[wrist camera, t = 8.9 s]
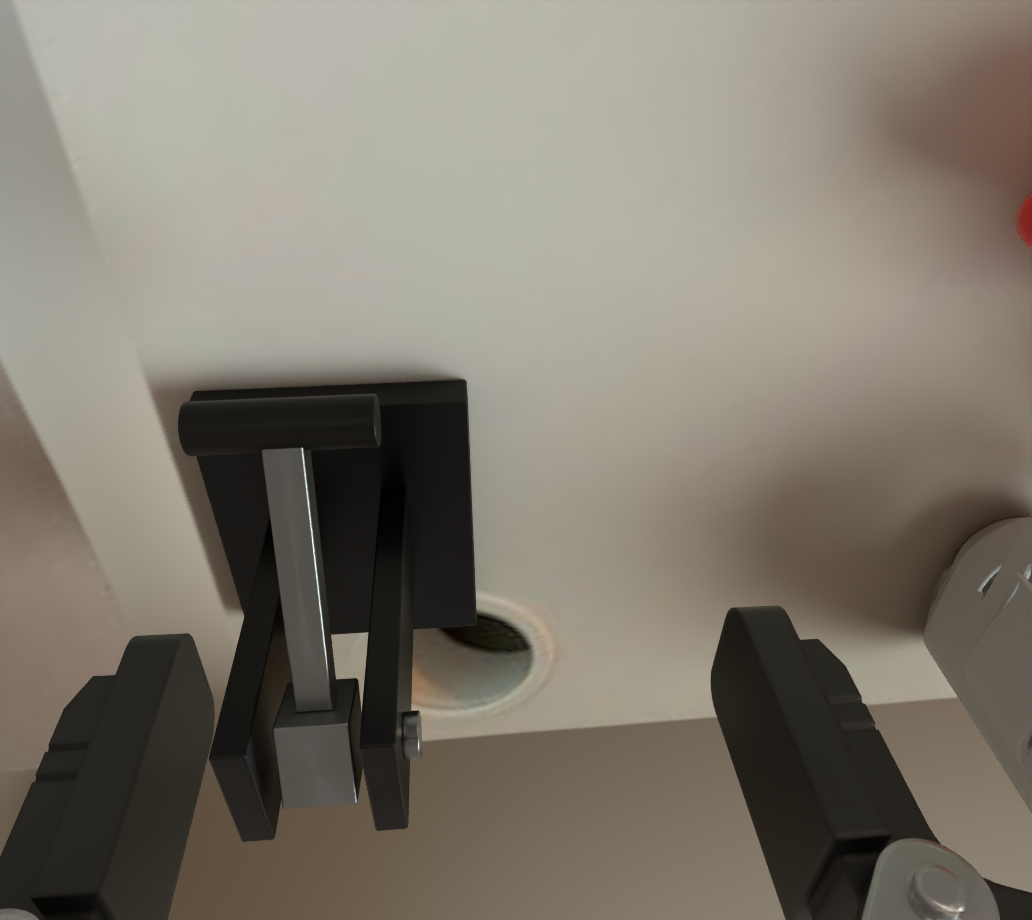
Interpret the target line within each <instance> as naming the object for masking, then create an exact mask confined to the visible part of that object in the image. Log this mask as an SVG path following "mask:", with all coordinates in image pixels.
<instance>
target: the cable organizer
mask: <svg viewBox="0 0 1032 920" xmlns="http://www.w3.org/2000/svg"><path fill="white" fill-rule="evenodd" d="M1030 568H1031V575H1030V577H1029V579H1028V580H1027V578H1026V575H1027V573H1028V572H1029V570H1030ZM997 572H998V573H997ZM996 573H997V575H996V577H995V579H994V580H993V582H992V584H991V586H990V588H989V589H988V591H987V593H986V595H985V596H984V594H983V593H982V589H983V587H984V586H985V584H986V583H987V582H988V581H989V579H990V578H991V577H992V576H993V575H994V574H996ZM924 642H925V645H926V647H927V649H928V651H929V652H930V654H931V655H932V657H933V658H934V660H935V662H936V663H937V665H938V666H939V668H940V670H941V671H942V673H943V674H944V676H945V677H946V679H947V681H948V682H949V684H950V685H951V687H952V688H953V690H954V692H955V693H956V695H957V696H958V698H959V699H960V701H961V702H962V704H963V706H964V707H965V709H966V710H967V712H968V714H969V715H970V717H971V718H972V720H973V721H974V723H975V724H976V726H977V728H978V729H979V731H980V733H981V734H982V736H983V737H984V739H985V740H986V742H987V744H988V745H989V747H990V748H991V750H992V751H993V753H994V755H995V756H996V758H997V759H998V761H999V762H1000V764H1001V765H1002V767H1003V769H1004V770H1005V772H1006V773H1007V775H1008V777H1009V778H1010V780H1011V781H1012V783H1013V785H1014V786H1015V788H1016V789H1017V791H1018V792H1019V794H1020V796H1021V797H1022V799H1023V800H1024V802H1025V803H1026V805H1027V807H1028V808H1029V810H1030V811H1031V813H1032V517H1021V518H1010V519H1005V520H1001V521H998V522H995V523H993V524H990V525H988V526H986V527H984V528H983V529H981V530H980V531H978V532H977V533H975V534H974V535H973V536H971V537H970V538H969V539H968V540H967V541H966V542H965V543H964V545H963V546H962V547H961V549H960V550H959V552H958V554H957V556H956V558H955V560H954V562H953V564H952V566H951V568H950V570H949V572H948V574H947V576H946V578H945V580H944V582H943V584H942V586H941V588H940V590H939V592H938V594H937V596H936V598H935V600H934V602H933V604H932V606H931V609H930V611H929V614H928V619H927V624H926V629H925V634H924Z"/></svg>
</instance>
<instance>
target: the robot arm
mask: <svg viewBox="0 0 1032 920" xmlns="http://www.w3.org/2000/svg"><path fill="white" fill-rule="evenodd" d="M711 693H712V700H713V704H714V708H715V712H716V715H717V718H718V721H719V724H720V727H721V729H722V732H723V735H724V738H725V741H726V744H727V747H728V750H729V753H730V756H731V759H732V762H733V765H734V768H735V771H736V774H737V777H738V780H739V783H740V786H741V789H742V792H743V795H744V798H745V801H746V804H747V806H748V809H749V812H750V815H751V818H752V821H753V824H754V827H755V830H756V833H757V836H758V839H759V842H760V845H761V848H762V851H763V854H764V857H765V860H766V863H767V866H768V869H769V872H770V874H771V877H772V880H773V884H774V886H775V889H776V892H777V895H778V898H779V901H780V904H781V907H782V910H783V913H784V916H785V919H786V920H1032V893H1030V892H1026V891H1023V890H1018V889H1015V888H1011V887H1007V886H1004V885H1000V884H997V883H994V882H992V881H990V880H987V879H985V878H983V877H982V876H981V875H980V874H979V873H978V872H977V871H976V869H975V868H974V867H973V866H972V865H970V864H969V863H968V862H967V861H966V860H965V859H964V858H962V857H961V856H960V855H958V854H957V853H955V852H954V851H952V850H950V849H948V848H947V847H945V846H942V845H941V844H940V842H939V841H938V840H937V838H936V837H935V836H934V834H933V833H932V831H931V829H930V828H929V826H928V824H927V822H926V820H925V818H924V817H923V815H922V813H921V811H920V809H919V807H918V805H917V803H916V801H915V799H914V797H913V795H912V793H911V792H910V789H909V788H908V786H907V784H906V782H905V780H904V778H903V776H902V774H901V772H900V770H899V768H898V766H897V765H896V763H895V761H894V759H893V757H892V755H891V753H890V751H889V749H888V747H887V745H886V743H885V741H884V739H883V737H882V735H881V734H880V732H879V730H876V729H875V722H874V720H873V718H872V716H871V715H870V713H869V710H868V708H867V707H866V705H865V704H863V703H862V700H861V698H862V697H861V695H860V693H859V691H858V689H857V687H856V685H855V683H854V681H853V680H852V678H851V676H850V674H849V672H848V670H847V668H846V666H845V665H844V664H843V663H842V662H841V661H840V660H839V659H838V658H837V657H836V656H835V655H834V654H833V653H832V652H831V651H830V650H829V649H828V648H827V647H826V646H825V645H824V644H823V643H822V642H821V641H820V640H819V639H807V640H800V639H799V637H798V635H797V633H796V631H795V629H794V627H793V625H792V623H791V620H790V618H789V616H788V614H787V613H786V611H785V610H784V609H783V608H782V607H780V606H758V607H738V608H731V609H729V611H728V612H727V615H726V618H725V622H724V626H723V629H722V633H721V637H720V640H719V644H718V648H717V651H716V655H715V659H714V662H713V666H712V670H711ZM213 730H214V701H213V696H212V693H211V690H210V687H209V684H208V681H207V678H206V675H205V672H204V669H203V666H202V663H201V660H200V657H199V654H198V651H197V648H196V645H195V642H194V640H193V638H192V636H191V635H190V634H188V633H187V634H167V635H147V636H135V637H133V638H132V639H131V640H130V641H129V643H128V645H127V647H126V649H125V652H124V654H123V657H122V659H121V662H120V665H119V667H118V670H117V672H116V675H110V676H93V677H92V678H91V679H90V680H89V681H88V683H87V684H86V685H85V686H84V687H83V688H82V689H81V690H80V691H79V693H78V694H77V695H76V696H75V697H74V698H73V699H72V700H71V702H70V703H69V704H68V705H67V706H66V707H65V708H64V710H63V712H62V715H61V717H60V719H59V722H58V724H57V726H56V729H55V731H54V733H53V736H52V738H51V740H50V743H49V750H48V752H45V754H44V756H43V759H42V761H41V763H40V766H39V768H38V770H37V773H36V781H35V782H33V783H32V784H31V787H30V789H29V791H28V794H27V796H26V798H25V801H24V803H23V805H22V808H21V810H20V812H19V815H18V817H17V819H16V822H15V824H14V826H13V828H12V831H11V833H10V835H9V838H8V840H7V842H6V845H5V847H4V850H3V852H2V854H1V857H0V920H168V916H169V912H170V908H171V903H172V899H173V895H174V891H175V887H176V883H177V879H178V875H179V871H180V867H181V863H182V859H183V855H184V850H185V847H186V842H187V839H188V835H189V830H190V827H191V823H192V818H193V814H194V810H195V806H196V802H197V798H198V794H199V790H200V786H201V782H202V778H203V773H204V770H205V766H206V762H207V758H208V754H209V749H210V745H211V742H212V737H213Z"/></svg>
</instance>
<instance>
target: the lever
mask: <svg viewBox="0 0 1032 920" xmlns="http://www.w3.org/2000/svg"><path fill="white" fill-rule="evenodd" d="M178 432H179V438H180V443H181V446H182V448H183V451H184V452H185V453H186V454H187V455H188V456H207V455H228V454H249V453H262V458H263V465H264V473H265V481H266V489H267V496H268V504H269V512H270V519H271V527H272V535H273V542H274V550H275V558H276V565H277V573H278V581H279V588H280V596H281V604H282V611H283V619H284V627H285V635H286V642H287V650H288V658H289V665H290V673H291V681H292V683H288V684H287V687H286V690H285V693H284V696H283V699H282V702H281V705H280V708H279V711H278V714H277V717H276V720H275V723H274V726H273V729H272V735H273V742H274V749H275V756H276V763H277V770H278V777H279V784H280V791H281V798H282V806H283V808H284V809H289V808H301V807H313V806H326V805H340V804H351V803H356V802H357V800H358V795H359V789H360V782H361V775H362V769H363V765H362V760H361V755H360V750H359V741H360V729H361V717H362V713H361V703H360V693H359V683H358V679H356V678H352V679H337V680H336V676H335V667H334V658H333V649H332V640H331V631H330V622H329V613H328V603H327V594H326V585H325V576H324V567H323V558H322V549H321V540H320V531H319V522H318V513H317V504H316V495H315V486H314V476H313V467H312V458H311V451H312V450H333V449H354V448H375V447H379V446H380V443H381V416H380V406H379V400H378V396H377V394H355V395H332V396H308V397H285V398H262V399H238V400H215V401H192V402H185V403H183V404H182V406H181V408H180V412H179V418H178Z"/></svg>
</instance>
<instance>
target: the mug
mask: <svg viewBox="0 0 1032 920" xmlns="http://www.w3.org/2000/svg"><path fill="white" fill-rule="evenodd" d="M1017 231H1018V234H1019V236H1020V237H1021V239H1022V240H1023V241H1024V242H1025V244H1026V245H1027V246H1028V247H1029V248H1030V249H1031V250H1032V193H1031V194H1030V195H1029V196H1028V197H1027V198H1026V199H1025V201H1024V202H1023V204H1022V206H1021V207H1020V209H1019V210H1018V212H1017Z"/></svg>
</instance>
